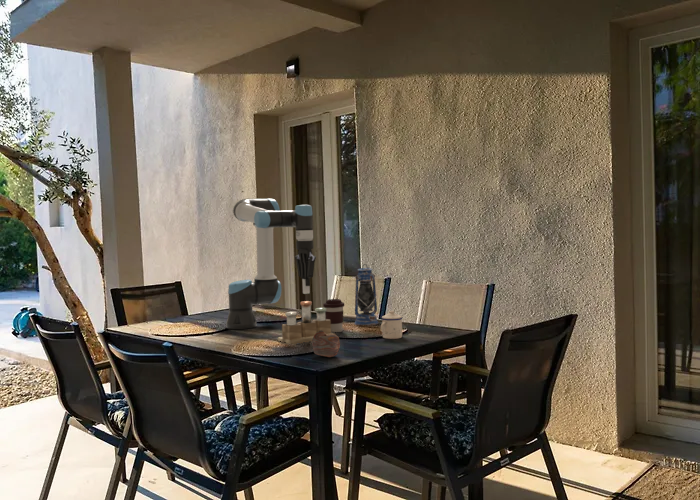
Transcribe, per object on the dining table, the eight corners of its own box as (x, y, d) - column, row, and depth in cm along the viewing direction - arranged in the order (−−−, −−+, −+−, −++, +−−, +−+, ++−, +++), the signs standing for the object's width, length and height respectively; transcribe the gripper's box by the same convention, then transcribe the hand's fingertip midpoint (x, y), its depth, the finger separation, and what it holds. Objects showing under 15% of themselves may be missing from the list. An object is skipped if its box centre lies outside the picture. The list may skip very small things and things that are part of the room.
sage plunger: (313, 331, 273) (313, 308, 272) (322, 329, 276) (322, 307, 275) (320, 332, 269) (319, 309, 268) (329, 330, 272) (328, 308, 272)
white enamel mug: (390, 334, 273) (390, 308, 272) (406, 336, 266) (406, 310, 266) (373, 338, 264) (372, 312, 263) (389, 341, 258) (389, 313, 257)
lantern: (368, 320, 315) (366, 262, 314) (385, 322, 306) (384, 263, 305) (347, 324, 304) (345, 264, 303) (364, 326, 295) (362, 265, 294)
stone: (310, 356, 232) (309, 330, 232) (324, 352, 239) (323, 327, 238) (335, 359, 224) (334, 333, 224) (349, 355, 231) (348, 329, 231)
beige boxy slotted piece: (277, 340, 265) (277, 323, 265) (320, 333, 279) (319, 317, 279) (293, 344, 256) (292, 327, 255) (335, 337, 270) (335, 320, 270)
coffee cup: (342, 333, 279) (341, 301, 278) (321, 333, 281) (320, 301, 280) (347, 329, 289) (346, 298, 288) (326, 329, 291) (325, 298, 290)
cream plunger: (283, 335, 263) (283, 312, 262) (293, 334, 266) (292, 311, 265) (290, 337, 259) (289, 313, 258) (299, 335, 262) (299, 312, 262)
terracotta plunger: (298, 324, 268) (298, 302, 267) (308, 323, 271) (307, 300, 270) (305, 326, 264) (304, 303, 263) (314, 324, 267) (313, 301, 266)
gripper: (289, 240, 268) (291, 293, 269) (306, 240, 258) (307, 295, 259) (303, 239, 273) (304, 291, 274) (320, 239, 263) (321, 293, 264)
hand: (306, 293), depth 267 cm, fingers closed
